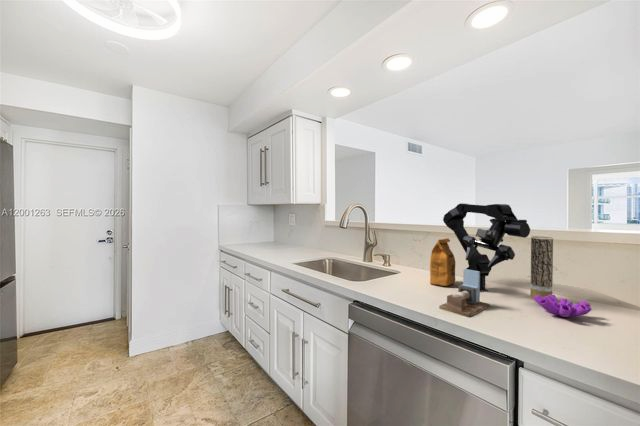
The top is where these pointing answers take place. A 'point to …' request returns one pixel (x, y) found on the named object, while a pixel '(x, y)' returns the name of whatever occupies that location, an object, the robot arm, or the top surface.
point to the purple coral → (562, 306)
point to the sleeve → (472, 281)
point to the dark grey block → (473, 292)
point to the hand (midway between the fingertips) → (476, 263)
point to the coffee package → (442, 264)
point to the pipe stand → (462, 304)
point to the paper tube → (541, 266)
